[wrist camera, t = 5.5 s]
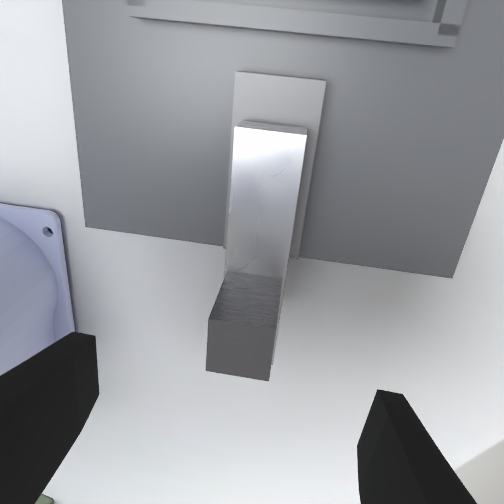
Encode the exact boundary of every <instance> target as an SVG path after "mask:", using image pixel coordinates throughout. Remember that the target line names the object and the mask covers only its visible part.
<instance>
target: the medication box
mask: <svg viewBox="0 0 504 504" xmlns="http://www.w3.org/2000/svg"><path fill="white" fill-rule="evenodd" d="M53 503H54V500H53V499H52V498H50V497H48V496H45V495H43V494H41V495H40V497H39V498H38V500H37V501H36V503H35V504H53Z"/></svg>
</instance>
